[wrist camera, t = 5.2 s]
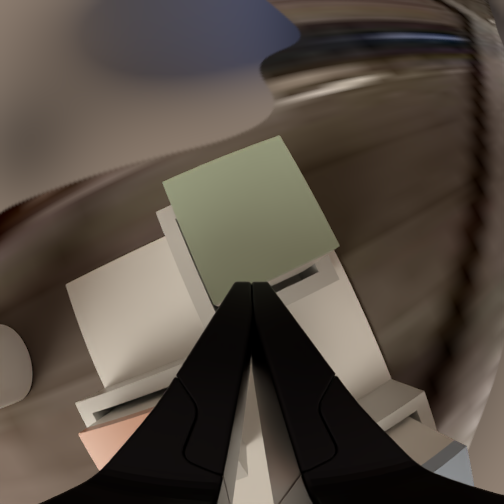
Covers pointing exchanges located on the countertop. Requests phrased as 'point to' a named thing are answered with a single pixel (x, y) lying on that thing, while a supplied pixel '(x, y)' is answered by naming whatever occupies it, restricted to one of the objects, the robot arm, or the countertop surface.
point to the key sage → (249, 218)
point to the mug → (13, 367)
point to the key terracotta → (117, 427)
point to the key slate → (433, 450)
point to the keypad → (194, 323)
